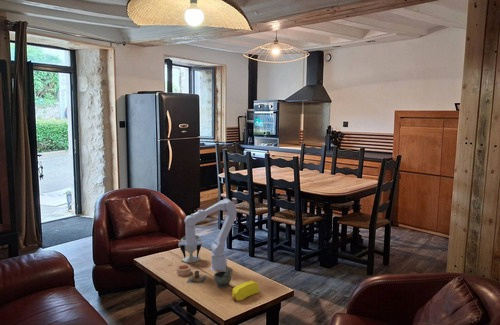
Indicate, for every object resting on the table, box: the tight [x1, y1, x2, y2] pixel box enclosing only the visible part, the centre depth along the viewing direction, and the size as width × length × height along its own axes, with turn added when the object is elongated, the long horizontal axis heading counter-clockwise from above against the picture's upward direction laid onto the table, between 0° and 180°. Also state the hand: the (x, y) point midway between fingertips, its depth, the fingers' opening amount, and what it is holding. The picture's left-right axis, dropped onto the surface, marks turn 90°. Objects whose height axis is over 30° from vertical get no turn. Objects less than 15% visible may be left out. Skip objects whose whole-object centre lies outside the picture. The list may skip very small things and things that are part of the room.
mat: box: [186, 274, 208, 284], centre depth 220 cm, size 10×10×1 cm
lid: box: [188, 270, 205, 282], centre depth 220 cm, size 9×9×4 cm
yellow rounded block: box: [231, 280, 260, 302], centre depth 201 cm, size 18×7×8 cm
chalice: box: [180, 234, 202, 264], centre depth 250 cm, size 14×14×15 cm
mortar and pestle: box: [213, 267, 233, 289], centre depth 211 cm, size 11×9×12 cm
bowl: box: [175, 264, 192, 277], centre depth 229 cm, size 8×8×4 cm
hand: (191, 257), depth 229 cm, fingers open, 7 cm apart
